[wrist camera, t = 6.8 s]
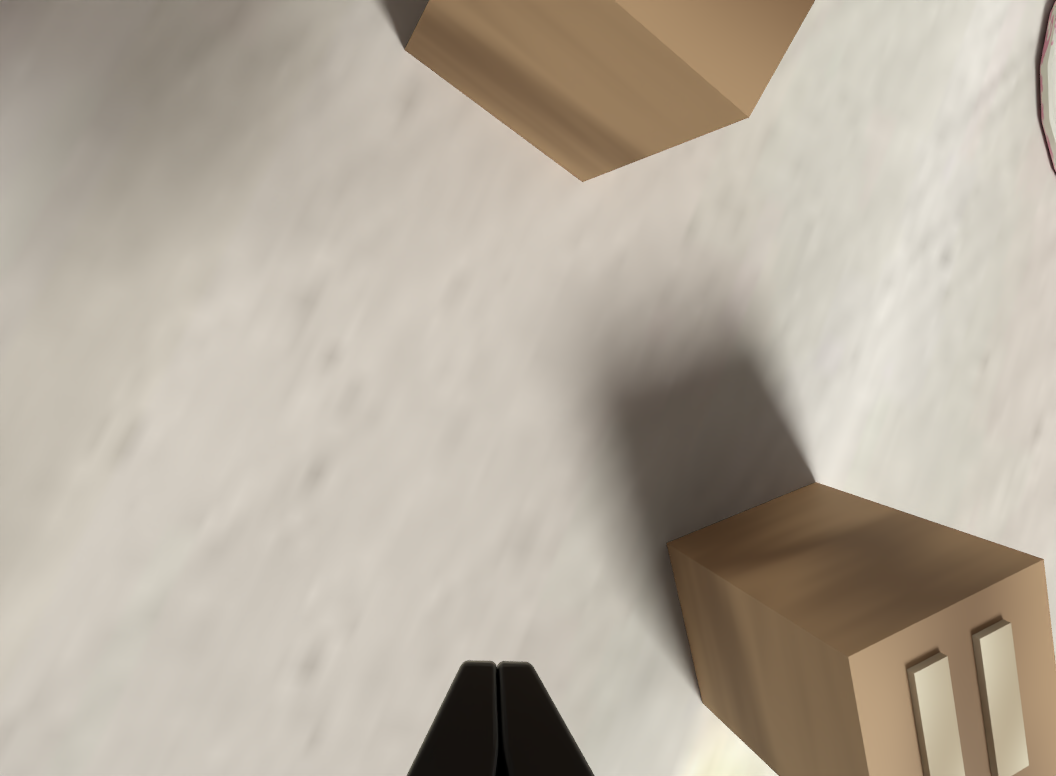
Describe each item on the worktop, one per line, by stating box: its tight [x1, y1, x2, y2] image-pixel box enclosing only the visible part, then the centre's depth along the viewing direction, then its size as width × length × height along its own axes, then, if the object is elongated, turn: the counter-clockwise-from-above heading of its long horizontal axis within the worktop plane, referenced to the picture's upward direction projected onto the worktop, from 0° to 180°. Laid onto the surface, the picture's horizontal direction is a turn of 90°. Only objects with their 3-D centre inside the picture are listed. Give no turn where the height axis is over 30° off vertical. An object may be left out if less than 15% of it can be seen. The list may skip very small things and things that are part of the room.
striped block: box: [667, 482, 1056, 776], centre depth 21 cm, size 6×6×8 cm
